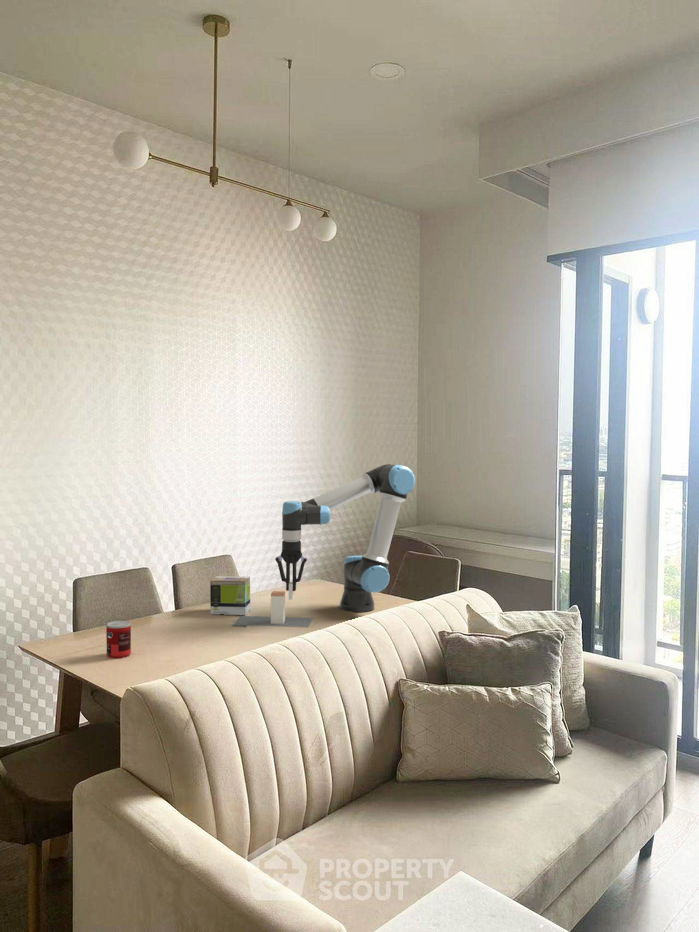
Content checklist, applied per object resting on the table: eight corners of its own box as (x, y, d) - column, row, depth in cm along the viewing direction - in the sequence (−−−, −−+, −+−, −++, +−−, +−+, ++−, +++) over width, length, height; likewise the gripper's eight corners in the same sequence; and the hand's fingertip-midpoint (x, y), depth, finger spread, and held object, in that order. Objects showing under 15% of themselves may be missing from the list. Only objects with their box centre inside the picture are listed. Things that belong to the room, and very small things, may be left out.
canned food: (109, 652, 249) (109, 620, 249) (133, 651, 250) (132, 620, 249) (103, 659, 242) (103, 626, 241) (128, 658, 242) (128, 626, 242)
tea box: (250, 610, 309) (250, 576, 308) (244, 616, 299) (245, 580, 298) (216, 608, 310) (216, 575, 310) (209, 614, 300) (209, 579, 300)
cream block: (285, 620, 290) (285, 591, 290) (283, 623, 285) (283, 594, 285) (273, 620, 291) (273, 590, 290) (270, 623, 286) (270, 593, 285)
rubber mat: (312, 619, 295) (312, 617, 295) (308, 628, 281) (308, 627, 281) (240, 616, 297) (240, 615, 297) (232, 626, 283) (232, 624, 283)
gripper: (309, 539, 289) (308, 597, 290) (277, 538, 290) (276, 596, 291) (306, 542, 282) (305, 601, 283) (273, 541, 283) (273, 600, 284)
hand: (291, 598), depth 287 cm, fingers closed
